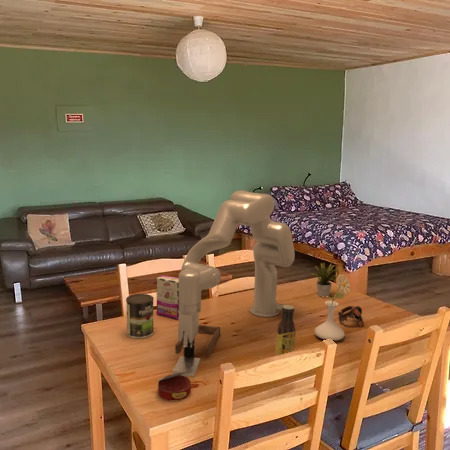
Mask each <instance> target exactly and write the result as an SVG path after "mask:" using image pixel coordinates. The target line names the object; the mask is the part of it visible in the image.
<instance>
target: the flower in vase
mask: <svg viewBox="0 0 450 450" xmlns="http://www.w3.org/2000/svg"><path fill="white" fill-rule="evenodd" d="M335 281H336V286H337V289H336V292H335V295H334V297H332V296H330V295H329V296H328V297H327V299H329V300H326V301H325V302H324V304H325V305H326V309H327V319H326V321H325V322H323V323H321V324H319V325H317V326H316V328H315V329H314V334H315V336H317V337H318V338H320V339H323V340H325V339H332V340H334V341H339V340H342V339H344V337H345V335H346V334H345V330H343V329H342V327H340V326H339V325H338V324H337V323H335V320H334V319H335V318H334V316H335V310H336V308H337V307H338V306H339V303H338V302H337V301H335V299H336V297H337V298H338V299H340V300H341V299H343V298H344V295H348V293H350V291H351V283H350V282H349V278H347V277H346V275H345V274H343V273H342V274H338V276H337V278H336V280H335Z"/></svg>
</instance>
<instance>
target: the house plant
mask: <svg viewBox="0 0 450 450" xmlns="http://www.w3.org/2000/svg"><path fill="white" fill-rule="evenodd" d="M325 265H326V263H322V262H320V269H319V268H318V266H317V265H314V267H315V270H316V271H317V273H318V274H316V272H314V273H312V275H314V276H316V277H317V282H316V288H317V289H316V290H317V291H316V292H317V296H318V295H319V296H318V297H320V296H324V297H323V298H327V297H326V296H330V293H331V288H332V285H333V284H332V282H330V281H331V280H332V281H333V282H335V281H336V280H335V279H337V278H338V275H339V274H338V275H337V274H336V275H334V274H333V273H339V272H340V269H338V268H336V269H333V268H334V267H335V266H336V265H335V264H333V265H332V262H331V263H330V264H329V266H328V267H327V268H326V266H325Z"/></svg>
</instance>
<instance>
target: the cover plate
mask: <svg viewBox="0 0 450 450" xmlns="http://www.w3.org/2000/svg"><path fill="white" fill-rule="evenodd" d="M200 365H201V357H193V358H192V357H184V355H181V356H179V358H178V360H177V362H176V363H175V366H174V367H173V370H172V375H173V374H175V373H186V372H187V373H186V374H182V376H185V377H186V376H190V377H189V378H194V377H195V376H194V375H196V373H197V371H198V369H199V366H200Z"/></svg>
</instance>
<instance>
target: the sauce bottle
mask: <svg viewBox="0 0 450 450" xmlns="http://www.w3.org/2000/svg"><path fill="white" fill-rule="evenodd" d="M282 305H283V306H282V310H281V311H282V313H281V314H282V315H281V319H280V320H279V321H278V324H277V331H276V340H275V349H274V350H275V352H274V355H275V356H276V355H281V354H284V353H288V352H292V351H294V352H295V342H296V341H295V340H296V326H295V323H294V313H295V307H294V306H293V305H290V304H282Z"/></svg>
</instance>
